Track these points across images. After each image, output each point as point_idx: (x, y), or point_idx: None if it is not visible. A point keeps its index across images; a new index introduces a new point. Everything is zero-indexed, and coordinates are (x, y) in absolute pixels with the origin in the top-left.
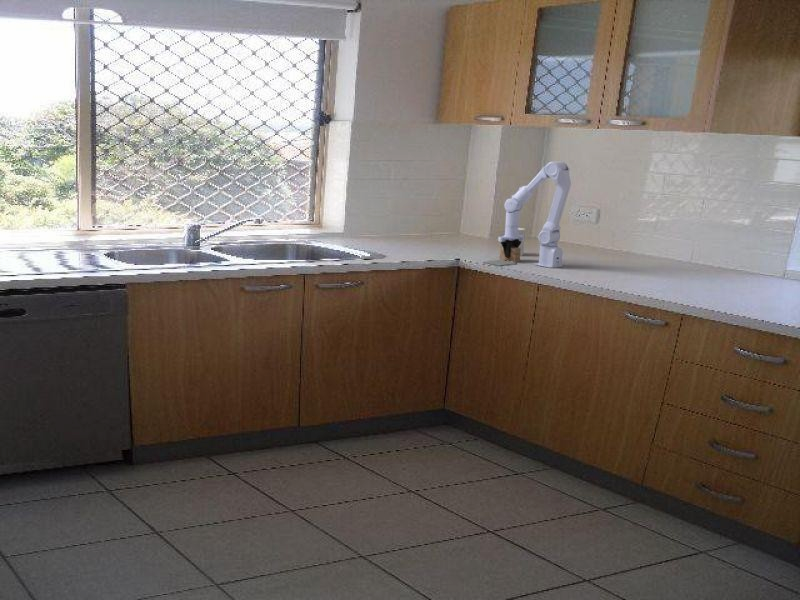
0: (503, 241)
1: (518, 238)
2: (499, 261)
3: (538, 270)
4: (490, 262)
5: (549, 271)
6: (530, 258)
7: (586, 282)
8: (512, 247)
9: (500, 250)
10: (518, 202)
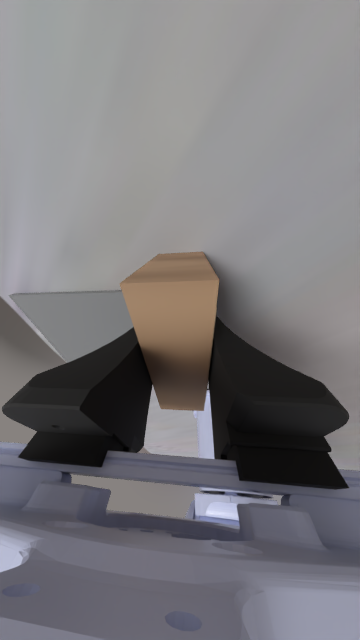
0: (44, 432)
1: (346, 512)
2: (103, 322)
3: (149, 413)
4: (50, 322)
5: (163, 421)
6: (349, 309)
7: (154, 447)
8: (180, 382)
9: (140, 268)
10: None
